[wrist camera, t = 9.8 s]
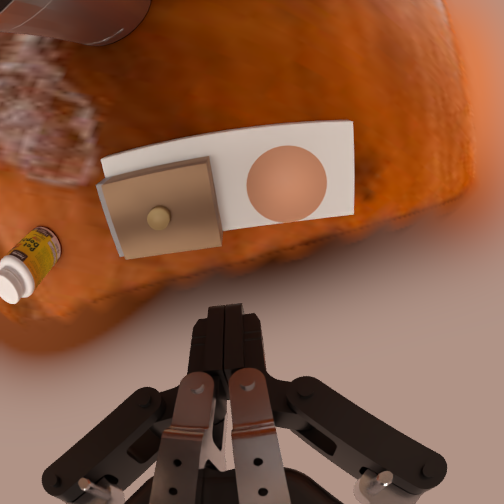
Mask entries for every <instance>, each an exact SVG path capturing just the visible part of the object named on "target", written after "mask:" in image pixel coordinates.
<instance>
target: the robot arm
mask: <svg viewBox="0 0 504 504" xmlns="http://www.w3.org/2000/svg"><path fill="white" fill-rule="evenodd" d="M150 3H151V0H0V32H9V33H20V34H29V35H36V36H43V37H50V38H56V39H61V40H67V41H71V42H76V43H81V44H85V45H91V46H103V45H107V44H111V43H113V42H116V41H118V40H120V39H122V38H123V37H125V36H126V35H128V34H129V33H130V32H131V31H133V30H134V29H135V28H136V27H137V26H138V25H139V23H140V22H141V21H142V20H143V18H144V16H145V15H146V13H147V11H148V9H149V6H150ZM227 400H230V403H231V414H232V423H233V430H232V433H231V436H232V446H233V455H234V463H235V469H232V470H228V471H226V459H225V441H226V429H227V417H228V416H227ZM275 427H281V428H287V429H290V430H291V431H292V432H293V433H294V434H296V435H297V436H298V437H300V438H301V439H302V440H303V441H305V442H306V443H307V444H309V445H310V446H311V447H312V448H314V449H315V450H317V451H318V452H319V453H321V454H322V455H323V456H325V457H326V458H327V459H329V460H330V461H331V462H333V463H334V464H336V465H337V466H339V467H340V468H341V469H343V470H344V471H346V472H347V473H349V474H350V475H352V476H353V477H355V478H356V479H358V480H357V482H356V483H355V485H354V489H353V491H354V496H355V497H356V499H357V500H358V501H359V502H360V503H361V504H415V503H416V502H417V500H418V499H419V498H420V496H421V495H422V494H423V493H424V492H426V491H428V490H430V489H432V488H434V487H435V486H437V485H438V484H440V482H442V480H443V479H444V477H445V475H446V472H447V463H446V461H445V459H444V458H443V457H442V456H441V455H440V454H438V453H436V452H434V451H433V450H431V449H429V448H427V447H425V446H424V445H422V444H420V443H418V442H417V441H415V440H413V439H411V438H410V437H408V436H406V435H404V434H403V433H401V432H399V431H397V430H396V429H394V428H393V427H391V426H389V425H388V424H386V423H384V422H383V421H381V420H379V419H378V418H376V417H375V416H373V415H371V414H370V413H368V412H366V411H365V410H363V409H362V408H360V407H359V406H357V405H355V404H354V403H353V402H351V401H349V400H348V399H346V398H345V397H343V396H342V395H340V394H339V393H337V392H336V391H334V390H333V389H331V388H330V387H328V386H327V385H325V384H324V383H322V382H321V381H320V380H318V379H316V378H314V377H310V376H303V377H299V378H296V379H294V380H293V381H292V382H288V381H281V380H277V379H275V378H273V377H271V376H270V375H269V374H268V373H267V371H266V364H265V354H264V344H263V337H262V330H261V323H260V320H259V319H258V317H257V316H256V314H255V313H251V314H244V311H243V305H242V303H238V304H230V305H226V306H225V305H221V306H212V307H209V308H208V317H207V318H206V319H199V320H198V321H197V323H196V324H195V326H194V327H193V333H192V340H191V348H190V356H189V364H188V372H187V375H186V376H185V377H184V378H183V379H182V381H181V382H180V385H178V386H177V387H175V388H172V389H169V390H166V391H163V392H160V393H159V392H158V391H157V390H156V389H154V388H151V387H143V388H140V389H138V390H137V391H135V392H134V393H133V394H132V395H131V396H129V397H128V398H127V399H126V400H125V401H124V402H123V403H122V404H120V405H119V406H118V407H117V408H116V409H115V410H114V411H113V412H111V414H109V415H108V416H107V417H106V418H105V419H104V420H102V421H101V422H100V423H99V424H98V425H97V426H96V427H95V428H93V429H92V430H91V431H90V432H89V433H88V434H86V435H85V436H84V437H83V438H82V439H81V440H79V441H78V442H77V443H76V444H75V445H74V446H73V447H71V448H70V449H69V450H68V451H67V452H66V453H64V454H63V455H62V456H61V457H60V458H58V459H57V460H56V461H55V462H54V463H53V464H51V465H50V466H49V467H48V468H47V469H46V470H45V471H44V473H43V475H42V485H43V487H44V489H45V490H46V492H48V493H49V494H50V495H52V496H54V497H57V498H59V499H61V500H62V501H64V502H65V503H66V504H343V503H342V502H341V501H339V500H338V499H337V498H335V497H334V496H333V495H331V494H330V493H329V492H327V491H326V490H325V489H324V488H322V487H321V486H320V485H319V484H317V483H316V482H315V481H314V480H312V479H311V478H310V477H308V476H307V475H305V474H304V473H302V472H299V471H297V470H294V469H291V468H285V467H283V463H282V458H281V453H280V448H279V443H278V438H277V433H276V428H275ZM156 460H157V462H156V468H155V473H154V476H153V477H151V478H150V479H148V480H147V481H146V482H145V483H144V484H143V485H142V486H141V487H140V488H139V489H138V490H137V491H136V492H135V493H134V494H133V495H132V496H131V497H130V498H129V499H128V500H127V501H126V502H125V498H124V493H123V491H124V490H125V489H126V488H127V487H128V486H130V485H131V484H132V483H133V482H134V481H135V480H136V479H137V478H138V477H139V476H141V475H142V474H143V473H144V472H145V471H146V470H147V469H148V468H149V467H150V466H151V465H152V464H153V463H154V462H155V461H156Z"/></svg>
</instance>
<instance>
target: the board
mask: <svg viewBox="0 0 504 504" xmlns="http://www.w3.org/2000/svg"><path fill="white" fill-rule="evenodd" d="M206 156H209V158H210V164H211V169H212V175H213V181H214V186H215V192H216V197H217V203H218V208H219V214H220V219H221V224H222V230H223V231H226V230H233V229H240V228H248V227H255V226H263V225H270V224H278V223H288V222H295V221H302V220H310V219H319V218H327V217H336V216H345V215H354V135H353V121H350V120H325V121H306V122H292V123H281V124H270V125H261V126H252V127H245V128H237V129H230V130H223V131H217V132H211V133H205V134H199V135H194V136H189V137H183V138H178V139H174V140H169V141H164V142H160V143H155V144H151V145H147V146H143V147H139V148H135V149H131V150H127V151H123V152H120V153H116V154H112V155H109V156H106V157H104V158H102V159H101V163H102V167H103V171H104V174H105V178H104V179H103V180H102V181H101V182H99V183H98V184H97V185H96V188H97V191H98V194H99V198H100V201H101V204H102V207H103V210H104V213H105V217H106V220H107V222H108V225H109V228H110V231H111V234H112V237H113V240H114V242H115V245H116V248H117V251H118V253H119V256H120V257H121V256H124V254H123V251H122V248H121V246H120V243H119V240H118V237H117V234H116V231H115V229H114V226H113V223H112V220H111V217H110V213H109V210H108V207H107V204H106V201H105V197H104V194H103V191H102V187H101V185H102V184H104V183H105V182H106V181H107V180H109V179H110V178H111V177H113V176H116V175H120V174H124V173H128V172H132V171H136V170H140V169H145V168H149V167H154V166H158V165H163V164H168V163H173V162H178V161H183V160H189V159H194V158H200V157H206Z"/></svg>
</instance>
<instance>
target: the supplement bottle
mask: <svg viewBox="0 0 504 504" xmlns="http://www.w3.org/2000/svg"><path fill="white" fill-rule="evenodd" d="M60 254H61V248H60V244H59V241H58V239H57V237H56V236H55V235H54V234H53V233H52V232H51V231H50V230H49V229H47V228H44V227H37V228H35V229H33V230H32V231H31V232H30V233H28V234H27V235H26V236H25V237H24V238H23V239H22V240H21V241H20V242H19V243H18V244H17V245H16V246H15V247H14V248H13V249H12V250H10V251H9V252H8V253H7V254H6V255H5V256H4V258H3V259H2V260H1V262H0V296H1V297H2V298H3V299H4V300H5V301H6V302H8V303H10V304H16V303H17V302H18V301H19V299H20V298H21V297H28V296H30V295H31V294H32V293H33V292H34V290H35V289H36V288H37V286H38V285H39V284H40V282H41V281H42V280H43V278H44V277H45V276H46V275H47V273H48V272H49V271H50V270H51V268H52V267H53V266H54V265H55V263H56V262H57V261H58V259H59V258H60Z"/></svg>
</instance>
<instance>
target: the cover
mask: <svg viewBox="0 0 504 504" xmlns="http://www.w3.org/2000/svg"><path fill="white" fill-rule="evenodd" d="M101 187H102V191H103V194H104V197H105V201H106V204H107V207H108V210H109V213H110V217H111V220H112V223H113V226H114V229H115V231H116V234H117V237H118V240H119V243H120V246H121V248H122V251H123V254H124V256H125V259H126V260H127V259H134V258H141V257H148V256H155V255H162V254H169V253H176V252H183V251H190V250H198V249H205V248H212V247H219V246H222V237H223V230H222V224H221V219H220V214H219V208H218V203H217V197H216V192H215V186H214V181H213V175H212V169H211V164H210V158H209V156H206V157H200V158H194V159H189V160H183V161H178V162H173V163H168V164H163V165H158V166H154V167H149V168H145V169H140V170H136V171H132V172H128V173H124V174H120V175H116V176H113V177H111V178H110V179H109V180H107V181H106V182H105V183H104V184H102V185H101Z"/></svg>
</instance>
